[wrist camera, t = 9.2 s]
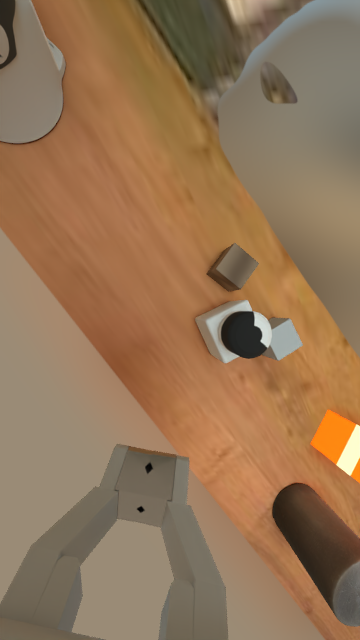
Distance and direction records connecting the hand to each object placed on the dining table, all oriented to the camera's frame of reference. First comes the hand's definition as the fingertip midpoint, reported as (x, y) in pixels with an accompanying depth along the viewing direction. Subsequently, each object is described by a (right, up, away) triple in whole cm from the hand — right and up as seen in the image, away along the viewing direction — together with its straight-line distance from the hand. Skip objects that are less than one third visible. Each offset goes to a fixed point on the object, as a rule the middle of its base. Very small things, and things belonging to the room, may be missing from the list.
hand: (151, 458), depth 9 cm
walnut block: (+9, +14, +30) cm, 35 cm away
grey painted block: (+17, +3, +32) cm, 37 cm away
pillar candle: (+24, -30, +35) cm, 52 cm away
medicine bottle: (+8, +4, +31) cm, 32 cm away
